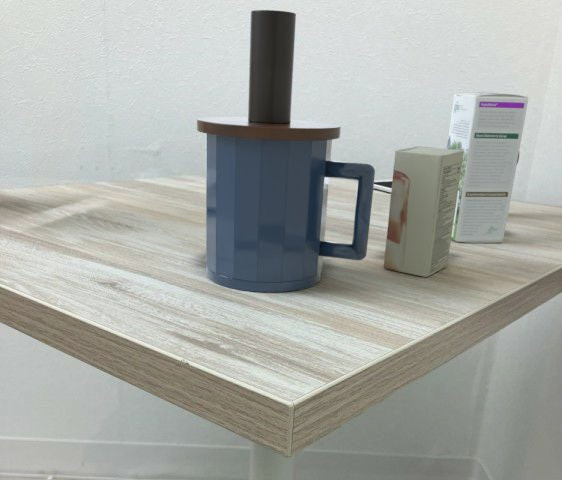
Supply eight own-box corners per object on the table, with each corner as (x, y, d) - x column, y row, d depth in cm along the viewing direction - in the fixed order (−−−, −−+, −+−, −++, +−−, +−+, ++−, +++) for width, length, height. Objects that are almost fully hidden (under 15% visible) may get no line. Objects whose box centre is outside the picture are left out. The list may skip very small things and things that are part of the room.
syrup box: (504, 243, 69) (533, 95, 62) (452, 242, 68) (476, 92, 62) (481, 231, 74) (505, 93, 68) (432, 230, 73) (452, 90, 67)
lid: (172, 132, 45) (169, 1, 42) (226, 125, 55) (227, 17, 51) (322, 144, 43) (332, 5, 39) (351, 134, 52) (361, 21, 49)
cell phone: (395, 182, 105) (395, 178, 105) (467, 199, 93) (468, 195, 93) (357, 184, 101) (357, 180, 101) (427, 202, 89) (428, 197, 89)
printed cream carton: (404, 258, 61) (419, 145, 56) (448, 267, 58) (467, 150, 54) (379, 268, 57) (393, 148, 53) (425, 278, 55) (444, 154, 50)
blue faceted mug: (188, 283, 50) (186, 132, 46) (229, 255, 58) (231, 126, 54) (352, 305, 47) (368, 146, 43) (371, 272, 55) (386, 137, 51)
